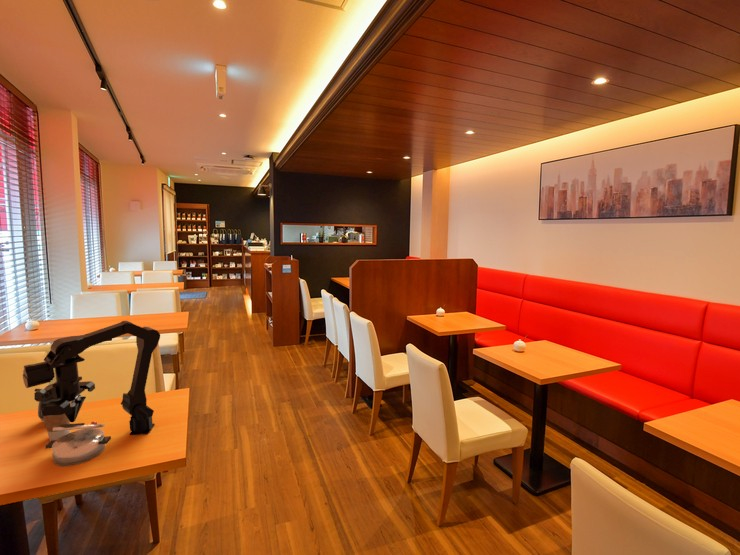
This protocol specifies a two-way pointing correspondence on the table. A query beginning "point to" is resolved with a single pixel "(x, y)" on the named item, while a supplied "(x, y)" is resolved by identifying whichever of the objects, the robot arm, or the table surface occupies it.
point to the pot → (78, 446)
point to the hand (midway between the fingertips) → (72, 421)
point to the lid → (77, 426)
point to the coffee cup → (55, 422)
